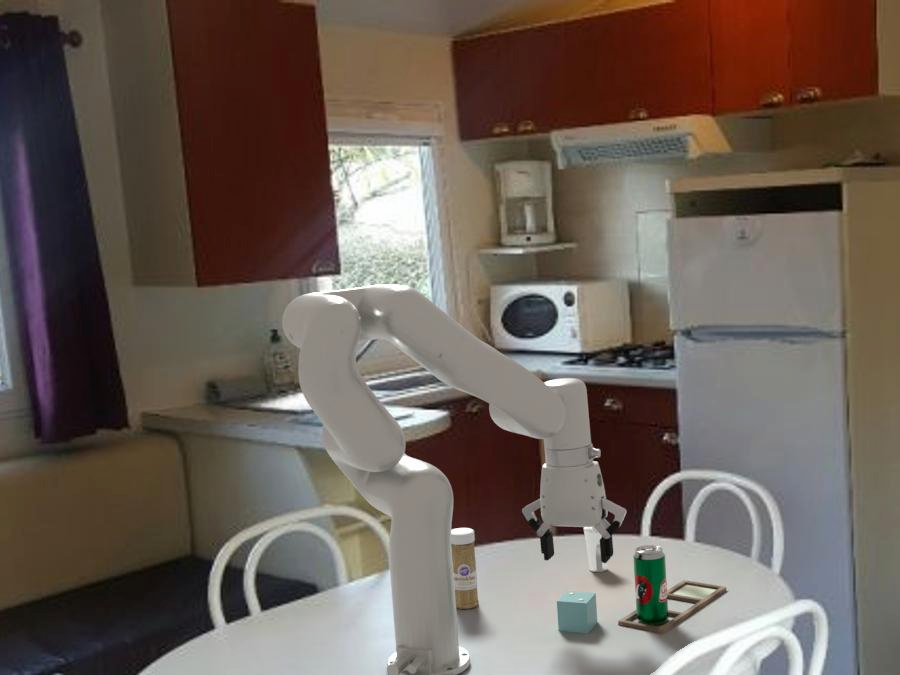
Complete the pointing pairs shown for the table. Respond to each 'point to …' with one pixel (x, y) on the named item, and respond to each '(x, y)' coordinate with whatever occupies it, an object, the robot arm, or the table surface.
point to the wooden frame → (683, 592)
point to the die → (577, 611)
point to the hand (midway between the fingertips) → (577, 559)
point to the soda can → (650, 585)
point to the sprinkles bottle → (464, 568)
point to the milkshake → (594, 550)
